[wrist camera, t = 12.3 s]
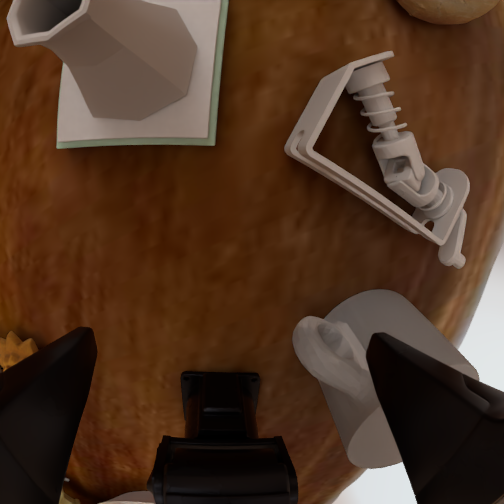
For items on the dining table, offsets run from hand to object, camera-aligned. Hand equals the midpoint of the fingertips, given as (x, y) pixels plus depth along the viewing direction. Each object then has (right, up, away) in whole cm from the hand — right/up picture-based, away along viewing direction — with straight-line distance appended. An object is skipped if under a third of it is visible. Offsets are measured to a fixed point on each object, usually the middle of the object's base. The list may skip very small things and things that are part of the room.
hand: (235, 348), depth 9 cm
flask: (-6, +13, +5) cm, 16 cm away
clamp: (+4, +12, +6) cm, 14 cm away
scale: (-6, +14, +7) cm, 17 cm away
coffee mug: (+9, -8, +6) cm, 13 cm away
